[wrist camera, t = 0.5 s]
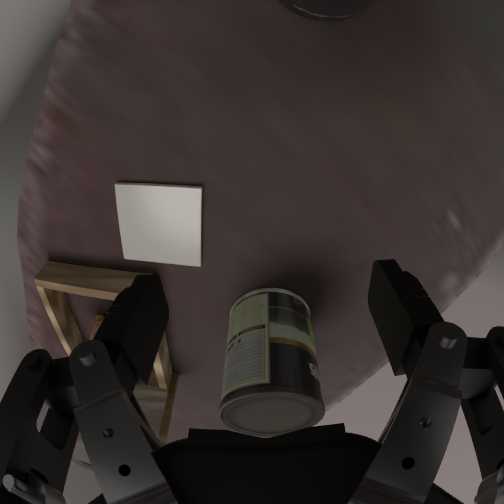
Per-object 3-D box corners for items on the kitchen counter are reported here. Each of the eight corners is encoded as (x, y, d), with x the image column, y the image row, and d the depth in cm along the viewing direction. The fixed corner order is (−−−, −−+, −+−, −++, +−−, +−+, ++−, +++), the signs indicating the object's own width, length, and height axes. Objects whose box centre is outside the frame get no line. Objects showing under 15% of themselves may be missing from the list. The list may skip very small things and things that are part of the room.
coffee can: (312, 283, 34) (331, 389, 22) (308, 341, 40) (319, 433, 28) (223, 288, 35) (208, 394, 23) (233, 344, 41) (226, 436, 29)
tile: (117, 182, 28) (114, 184, 27) (202, 186, 28) (201, 188, 28) (126, 255, 33) (124, 258, 32) (201, 263, 33) (200, 266, 32)
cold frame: (43, 260, 34) (-12, 332, 22) (165, 275, 34) (129, 375, 22) (82, 357, 45) (56, 421, 33) (178, 376, 46) (164, 451, 34)
